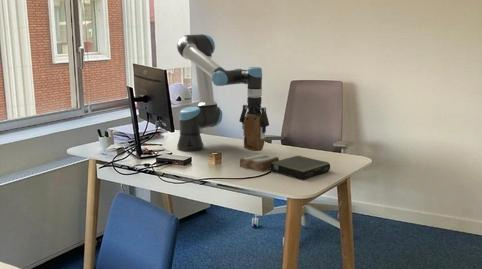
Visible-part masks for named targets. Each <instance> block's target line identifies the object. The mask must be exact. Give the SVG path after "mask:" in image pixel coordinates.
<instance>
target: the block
mask: <svg viewBox="0 0 482 269" xmlns="http://www.w3.org/2000/svg"><path fill="white" fill-rule="evenodd" d="M258 114H259V113H258ZM245 116H246V117H245V120H244V136H243V137H244V138H243V147H244V149H245V150H248V151H252V152H261V151H263V148H264V146H265V140H266V139H265V138H266V137H265V138H264V139H260V134H261V127H262V125H261V123H260V119H262V118H263V117H262V114H261V115H260V117H259V116H258V115H256V114H251V113H249V114H248V115H245Z"/></svg>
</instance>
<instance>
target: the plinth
mask: <svg viewBox="0 0 482 269" xmlns="http://www.w3.org/2000/svg"><path fill="white" fill-rule="evenodd" d="M276 161H279V157H276V156H272V155H267V154H261V153H255V154H251V155H249V156H248V155H247V156H245V157H242V158H239V167H240V168H246V169H249V170H255V171H258V172H264V171H267V170H271V168H270V167H271V163H272V162H276Z"/></svg>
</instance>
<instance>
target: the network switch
mask: <svg viewBox="0 0 482 269" xmlns="http://www.w3.org/2000/svg"><path fill="white" fill-rule="evenodd" d="M330 170H331V164H330V162H329V161H324V160H320V159H319V160H318V159H315V158H311V157H307V156H302V155H294V156H290V157H287V158H284V159H280V160H279V161H276V162H272V163H271V167H270V171H271V172H273V173H277V174H281V175H284V176H285V175H286V176H289V177H291V178H294V179H297V180H300V181H303V180H305V179H308V178H312V177H315V176H318V175H323V174H327V173H329V171H330Z"/></svg>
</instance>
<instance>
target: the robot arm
mask: <svg viewBox="0 0 482 269" xmlns="http://www.w3.org/2000/svg"><path fill="white" fill-rule="evenodd" d="M176 48H177V52H178V53H179V55H180V56H181V57H182V58H184V59H185V60H189V61H190V62H191V63H193V64H194V65H195V66H194V67H195V74H196V82H197V90H198V100H199V103H198V104H197V106H188V107H183V108H182V109H181V110H180V111H179V117H178V118H179V138H178V142H177V144H176V147H177V150H178V149H179V150H178V151H181V150H183V151H184V152H195V151H196V150H197V151H200V150H203V149H204V147H205V146H204V142H203V140H202V136H201V129H208V128H214V127H216V126H217V127H218V126H219V125H220V124H221V122H222V121H223V111H222V109H221V107H219V106H218V103H217V102H216V101H215V97H214V88H213V85H215V87H220V86H221V87H223V86H230V85H231V86H232V85H240V84H241V85H242V84H243V85H247V98H246V99H247V100H246V101H247V102H246V103H247V104H243V105H242V111H241V114H240V117H239V123H241V124H242V126H241V127H242V130H243V131H242V133H243V135H242V136H243V137H244V120H245V117H246V115H248V114H249V113H251V114H256V115H258V116H259V117H260V115H261V114H262V117H263V118H262V119H260V123H261V125H262V127H261V134H260V139H264V138H266V131H267V127H269V126H270V122H269V118H268V114H267V107H262V100H263V99H262V95H263V93H262V91H263V87H262V85H263V70H262V67H260V66H248V68H247V69H242V68H234V69H231V70H227V69H225V68H223V67H222V66H220V65H219V64H218V63H216V62H215V61H214V60H213V59H212V57H213V56H212V55H213V54H214V52H215V49H216V45H215V40H214V39H213V38H212V37H211V36H210V35H209V34H203V33H201V34H186V35H183V36H181V37H180V38H179V40H178V42H177V44H176ZM258 113H259V114H258ZM197 151H196V152H197Z"/></svg>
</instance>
